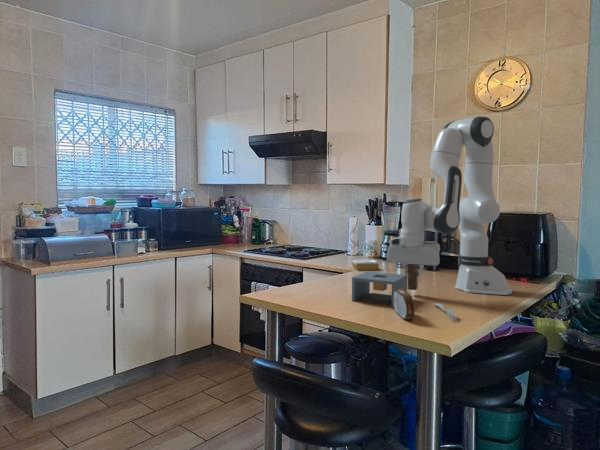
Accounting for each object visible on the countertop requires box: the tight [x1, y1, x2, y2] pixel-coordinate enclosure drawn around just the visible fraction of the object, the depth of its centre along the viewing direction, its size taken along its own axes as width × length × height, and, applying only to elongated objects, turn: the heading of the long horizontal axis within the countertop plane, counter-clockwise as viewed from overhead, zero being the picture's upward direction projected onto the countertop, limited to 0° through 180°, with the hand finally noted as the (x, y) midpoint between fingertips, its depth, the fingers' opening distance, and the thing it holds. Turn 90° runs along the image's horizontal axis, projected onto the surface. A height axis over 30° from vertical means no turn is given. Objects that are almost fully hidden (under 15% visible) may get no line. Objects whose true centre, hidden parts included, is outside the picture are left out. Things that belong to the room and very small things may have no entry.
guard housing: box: [351, 270, 408, 308], centre depth 168 cm, size 16×16×9 cm
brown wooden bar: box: [407, 264, 419, 291], centre depth 177 cm, size 3×3×14 cm
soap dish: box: [351, 259, 380, 272], centre depth 237 cm, size 12×10×5 cm
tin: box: [393, 289, 415, 321], centre depth 146 cm, size 15×3×8 cm, turn 4°
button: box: [372, 282, 388, 292], centre depth 168 cm, size 4×4×3 cm
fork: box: [433, 302, 458, 322], centre depth 151 cm, size 3×21×3 cm, turn 178°
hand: (412, 275), depth 177 cm, fingers closed on brown wooden bar, 3 cm apart
